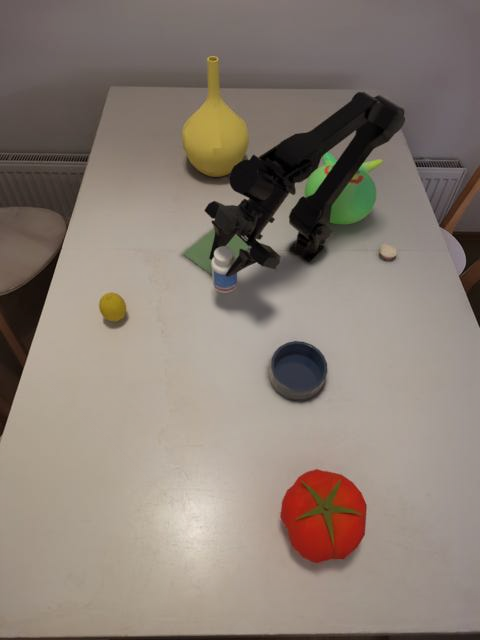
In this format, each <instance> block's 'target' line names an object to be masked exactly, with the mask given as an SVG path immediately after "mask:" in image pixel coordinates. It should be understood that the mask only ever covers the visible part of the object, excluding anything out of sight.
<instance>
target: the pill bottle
mask: <svg viewBox="0 0 480 640" xmlns="http://www.w3.org/2000/svg"><path fill="white" fill-rule="evenodd" d="M235 260H236V258H235V257H234V253H233V250H232V249H231V248H229V247H226V246H222V247H219V248H217V249H216V250H215V251H214V257H213V259H212V262H211V267H212V275H211V276H212V279H211V280H212V286H213V288H214V289H215V290H216V291H217V292H220V293H230V292H232V291H234V290H235V289H236V288H237V285H238V272H237V273H235V274H234V275H232V276H230V277H226V273H227V271H228V270H229V268H230V267H231V266H232V264H233V263H234V262H235Z"/></svg>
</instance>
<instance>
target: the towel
mask: <svg viewBox="0 0 480 640" xmlns="http://www.w3.org/2000/svg"><path fill="white" fill-rule="evenodd" d="M214 236H215V230H214V228H213V229H212V230H211V231H210V232H209V233H207V234H206V235H204V236H203V237H202V238H201V239H199V240H198V241H197V242H195V243H194V244H193V245H192V246H191V247H189V248H188V249H186V250H185V251H184V252H183V253H182V255H183V256H184V257H185V258H187V260H189V261H191V262H192V263H193V264H195V265H196V266H198V267H199V268H201V269H202V270H203V271H205V272H206V273H208V274H209V275H211V276H212V267H211V262H212V260H210V259H209V257H210V253H211V249H212V245H213V241H214ZM226 247H229V248H231V249H232V250H233V253H234V257H235V258H236V259H237V258H238V256H239V250H240V249H243V250H247V248H248V247H249V246H248V245H247V244H246V243H245V242H244V241H243V240H242V239H241V238H240V237H239V236H238V235H237V234H235V236H234V237H233V238H232V239H231V240H230V242H229V243H228V244H227V245H226Z"/></svg>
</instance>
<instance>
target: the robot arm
mask: <svg viewBox="0 0 480 640" xmlns="http://www.w3.org/2000/svg"><path fill="white" fill-rule="evenodd" d="M405 114H406V113H405V109H404V108H403V107H401V106H400V105H398V104H396V103H394V102H393V101H391V100H390V99H387V98H386V97H384V96H382V95H381V94H379V95H376V96H372V95H370V94H368V93H367V92H365V91H358V92H356V93H355V94H354V95H353V96H352V98H351V100H350V101H348V102H347V103H346V104H344V105H343V106H342V107H340V108H339V109H338V110H337V111H335V112H334V113H332V114H331V115H330V116H328V117H327V118H326V119H324V120H323V121H321V123H319V124H318V125H316V126H315V127H314V128H312V129H311V130H309V131H306V132H299V133H295V134H293V135H290V136H288V137H287V138H285V139H284V140H281V141H280V142H279V143H278V144H276V145H275V146H273V147H272V148H270V149H269V150H268V151H266V152H264V153H263V154H261V155H259V156H257V155H255V154H252V155H251V157H250V158H249V159H243V160H242V161H241V162H239V163H238V164H237V165H235V166H234V167H233V169H232V171H231V173H229V178H228V179H229V185H230V188H231V189H232V190H233V191H234V192H235V193H237V194H240V195H241V196H243V197H246V198H248V199H246V198H244V199H242V200H241V202H240V203H239V204H238V205H234V204H229V205H228V204H227V205H225V204H223V203H221V202H219V201H216V200H213V201H210V202H208V204H207V206H206V207H205V208H204V212H205V213H206V214H207V216H209V217H210V218H211V219H213V220H211V224H212V226H213V229H214V230H215V236H214V241H213V245H212V249H211V253H210V257H209V259H210V260H212V259H213V257H214V251H215V250H216V249H217V248H219V247H222V246H226V245H227V244H228V243H229V242H230V240H231V239H232V238H233V237H234V236H235V234H237V235H238V236H239V237H240V238H241V239H242V240H243V241H244V242H245V243H246V244H247V245H248V246H249V247H248V248H247V250H243V249H240V250H239V256H238V258H237V259H236V260H235V262H234V263H233V264H232V266H231V267H230V268H229V270H228V271H227V273H226V277H230V276H232V275H234V274H235V273H237V274H238V273H239V272H241V271H242V270H244V269H246V268H248V267H249V266H252V265H254V264H256V263H257V265H259V266H261V267H263V268H268V269H271V270H276V269H277V267H278V266H279V265H280V263H281V255H280V254H279V253H278V252H277V251H275V250H274V249H273V248H272V247H271V246H270V245H267V244H265V243H261V242H259V241H261V239H262V238H263V237H264V236H263V234H262V232H263V231H264V229H265V228H266V227H267V225H268V224H269V223H270V224H273V223H274V222H275V220H276V218H275V217H274V216H275V214H276V213H277V211H278V210H279V208H280V207H281V206H282V204H283V203H284V201H285V200H286V199H287V198H288V196H289V195H290V194H291V195H292V196H295V195H296V194H297V192H296V191H297V189H296V183H297V184H300V183H302V182H304V181H305V180H308V179H309V177H310V176H311V174H312V173H313V172H314V171H315V170H316V169H318V168H319V167H320V163H321V160H322V156H323V155H324V154H326V153H327V152H329V151H331V150H332V149H333V148H334V147H336V146H338V145H339V144H340V143H341V142H343V141H344V140H345V139H347V138H349V136H350V135H352V134H353V133H354V132H355V134H354V137H353V138H352V139H351V140H350V142H349V143H348V145H347V146H346V148H345V149H344V150H343V152H342V153H341V155H340V156H339V158H338V159H336V160H337V162H336V163H335V165H334V166H333V168H332V169H331V170H330V172H329V173H328V175H327V176H326V177H325V179H324V180H323V182H322V183H321V185H320V186H319V187H318V189H317V190H316V192H315V193H314V194H312V195H310V196H308V197H306V198H305V195H303V196H301V197H300V198H299V199H298V200H297V202H296V203H295V205H294V207H292V209H291V210H290V212H289V214H288V215H289V216H288V218H289V220H288V223H289V225H290V226H292V227H293V228H294V229H295V230H296V231H297V236H296V241H295V242H294V243H293V244H292V245H291V246H290V247H289V252H291V253H292V254H295V255H297V256H298V257H299V258H301V259H303V260H304V261H306V262H308V263H311V262H312V261H313V260H314V259H315V258H316V257H318V255H320V253H321V252H322V251H323V250H324V249H325V246H324V244H326V242H327V239H329V238H330V237H331V235H332V234H333V229H331V228H330V227H329V226H328V224H329V223H330V222H329V221H330V216H331V208H332V205H333V204H334V202H335V201H336V199H337V198H338V197H339V195H340V194H341V193H342V191H343V190H344V189H345V187H346V186H347V184H348V183H349V182H350V180H351V179H352V178H353V176H354V175H355V174H356V172H357V171H358V169H359V168H360V167H361V165H362V164H363V163H365V162H366V160H367V159H368V158H369V156H370V155H371V153H372V152H373V151H374V150H375V149H376V148H378V147H380V146H383V145H385V144H387V143H388V142H390V141H391V139H392V138H393V137H394V136H395V135H396V134H397V133H398V132H400V130H401V129H402V128H403V126H404V125H405V121H406V117H405ZM258 240H259V241H258Z"/></svg>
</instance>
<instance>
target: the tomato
mask: <svg viewBox="0 0 480 640" xmlns="http://www.w3.org/2000/svg"><path fill="white" fill-rule="evenodd" d="M367 508H368V506H367V503H366V501H365V498H364V495H363V492H361V490H360V489H359V487H357V485H356V484H355V483H354V482H353V481H352V480H350V479H349V478H347V477H346V476H344V475H343V474H342V473H341V474H340V473H336V472H332V471H327V470H322V469H318V468H316V469H313V470H309V471H306V472H304V473H303V474H300V476H298V477H297V478H296V480H295V482H294V483H293V484H292V486H291V487H289V488H288V489H287V490H286V492H285V493H284V496H283V498H282V501H281V507H280V516H279V517H280V519H281V520H282V523H283V524H284V525H283V526H284V527H285V528H286V530H287V533H288V536H289V542H290V546H291V547H292V548H293V549H294V550H295V551H296V552H297V553H298V554H299V556H301V557H302V558H303V559H306V560H308V561H310V562H311V563H314V564H319V563H323V562H326V561H330V560H342V561H343V560H345V559H346V558H347V557H349V556H350V555H351V554H352V553H353V552H355V550H356V549H358V547H359V546H360V544H361V542H362V540H363V539H364V537H365V535H366V527H367V526H366V525H367Z"/></svg>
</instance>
